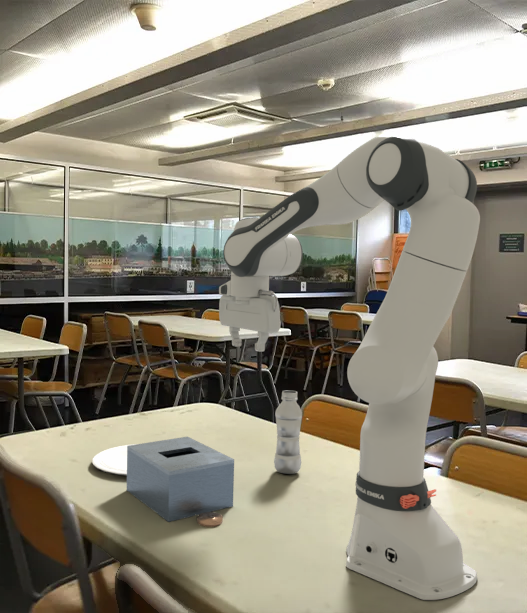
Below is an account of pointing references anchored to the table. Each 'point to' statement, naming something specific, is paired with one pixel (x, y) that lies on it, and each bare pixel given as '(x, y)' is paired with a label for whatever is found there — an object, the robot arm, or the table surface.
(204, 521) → the copper token
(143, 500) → the coin box
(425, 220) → the robot arm
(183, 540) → the table surface
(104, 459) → the plate
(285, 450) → the plastic bottle
